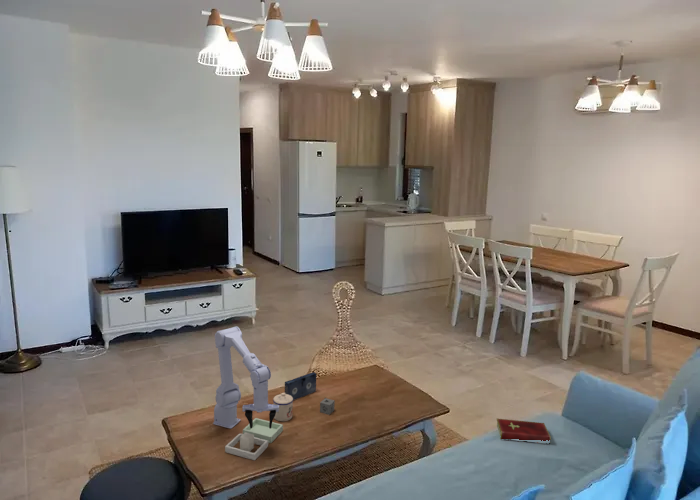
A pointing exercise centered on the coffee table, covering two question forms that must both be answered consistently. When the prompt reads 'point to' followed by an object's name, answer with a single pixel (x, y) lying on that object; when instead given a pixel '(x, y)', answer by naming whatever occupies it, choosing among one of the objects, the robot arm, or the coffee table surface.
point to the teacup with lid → (283, 407)
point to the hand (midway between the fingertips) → (260, 427)
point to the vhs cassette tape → (301, 386)
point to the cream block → (247, 442)
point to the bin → (243, 453)
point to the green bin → (264, 430)
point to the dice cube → (327, 406)
